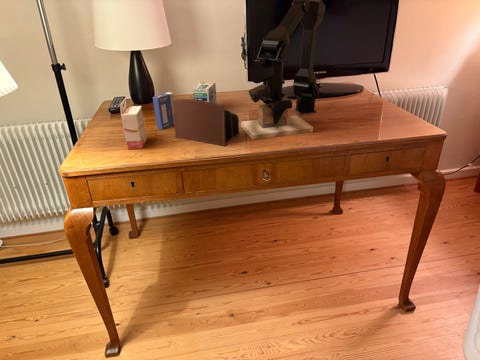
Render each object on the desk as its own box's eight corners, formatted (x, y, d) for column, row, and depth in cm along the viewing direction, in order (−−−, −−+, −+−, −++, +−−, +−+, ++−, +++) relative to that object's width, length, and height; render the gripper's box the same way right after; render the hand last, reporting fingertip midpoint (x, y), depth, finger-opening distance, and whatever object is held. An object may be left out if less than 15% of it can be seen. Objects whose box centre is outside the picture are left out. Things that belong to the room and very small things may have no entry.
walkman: (162, 129, 125) (157, 97, 119) (157, 128, 126) (152, 96, 120) (177, 123, 130) (174, 92, 124) (172, 122, 132) (168, 90, 126)
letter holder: (225, 147, 110) (223, 104, 103) (175, 137, 118) (170, 97, 111) (239, 136, 118) (238, 95, 111) (191, 128, 126) (187, 89, 119)
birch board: (296, 118, 131) (296, 114, 130) (312, 131, 119) (313, 127, 119) (241, 125, 126) (240, 121, 125) (252, 139, 114) (252, 135, 114)
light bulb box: (210, 116, 137) (208, 88, 131) (194, 115, 138) (191, 88, 133) (217, 107, 146) (215, 82, 141) (202, 107, 147) (200, 81, 142)
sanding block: (282, 121, 125) (282, 102, 121) (286, 125, 121) (287, 105, 117) (258, 124, 123) (258, 104, 119) (262, 128, 119) (262, 108, 116)
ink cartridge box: (143, 149, 110) (135, 104, 103) (127, 150, 110) (118, 105, 103) (147, 138, 118) (139, 96, 110) (132, 139, 117) (124, 97, 110)
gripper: (243, 73, 120) (244, 116, 128) (259, 86, 104) (260, 134, 112) (273, 70, 122) (272, 112, 130) (294, 82, 106) (291, 129, 114)
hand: (273, 121), depth 121 cm, fingers closed on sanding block, 4 cm apart
